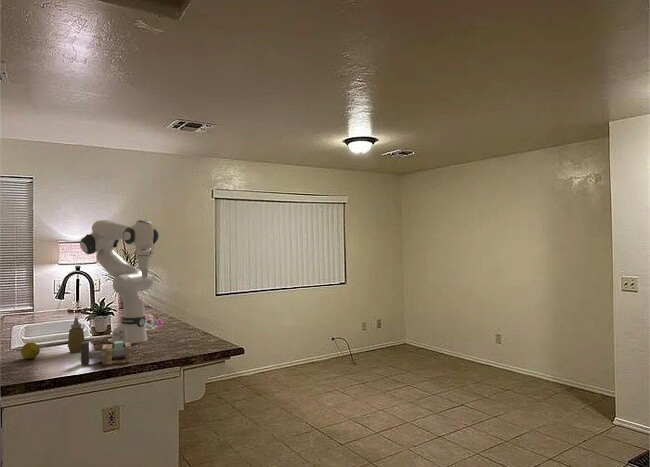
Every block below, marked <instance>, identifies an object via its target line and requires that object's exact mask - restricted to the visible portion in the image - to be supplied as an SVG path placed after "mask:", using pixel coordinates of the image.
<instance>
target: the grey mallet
mask: <svg viewBox="0 0 650 467" xmlns="http://www.w3.org/2000/svg"><path fill="white" fill-rule="evenodd" d="M117 356H125V347H123V350H119V351H114V348H112V357H117ZM131 356H134V347H133V346H131ZM98 359H102V349H101V350H91V351H90V341H89V340H87V341H85V342H82V343H81V352H80V362H81V363H80V364H81V366H87V365H89V364H90V360H98ZM89 366H90V365H89Z"/></svg>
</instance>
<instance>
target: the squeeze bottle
mask: <svg viewBox="0 0 650 467" xmlns="http://www.w3.org/2000/svg"><path fill="white" fill-rule="evenodd" d="M82 342H85V333H84V328H82V324H81V323H79V319H78V317H77V316H76V317H74V320H73V324H71V325H70V329H69V330H68V339H67V348H68V350H69V352H70V353H71V354H78V353H81V343H82Z"/></svg>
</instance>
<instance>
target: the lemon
mask: <svg viewBox="0 0 650 467" xmlns="http://www.w3.org/2000/svg"><path fill="white" fill-rule="evenodd" d="M20 354H21V356H22V358H24V359H26V360H31V359H34V358H36V357H37V356H39V354H40V346H39V345H38V344H37V343H35V342H28V343H27V342H26V343H25V344H24V345H23V346H22V348H21V349H20Z"/></svg>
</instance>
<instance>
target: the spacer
mask: <svg viewBox="0 0 650 467" xmlns="http://www.w3.org/2000/svg"><path fill="white" fill-rule="evenodd" d="M123 348H124V344H123V341H115V342H114V343H113V349H114V351H119V350H123Z"/></svg>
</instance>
